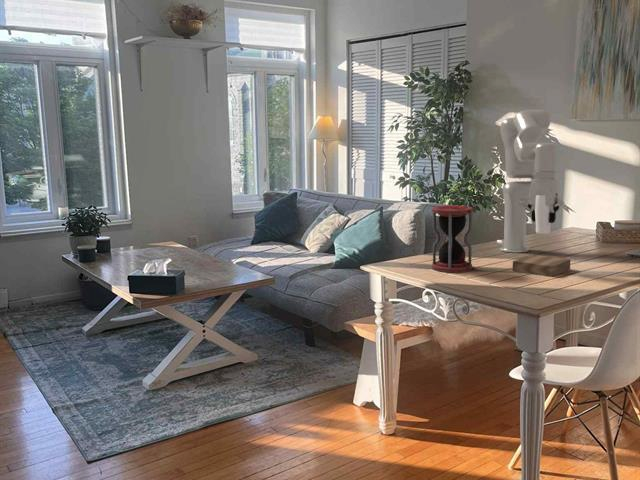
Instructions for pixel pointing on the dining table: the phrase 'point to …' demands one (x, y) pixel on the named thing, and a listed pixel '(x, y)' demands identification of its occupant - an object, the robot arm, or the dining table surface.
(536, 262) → the walnut block
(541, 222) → the white tapered cylinder
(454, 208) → the hourglass
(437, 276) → the dining table surface
